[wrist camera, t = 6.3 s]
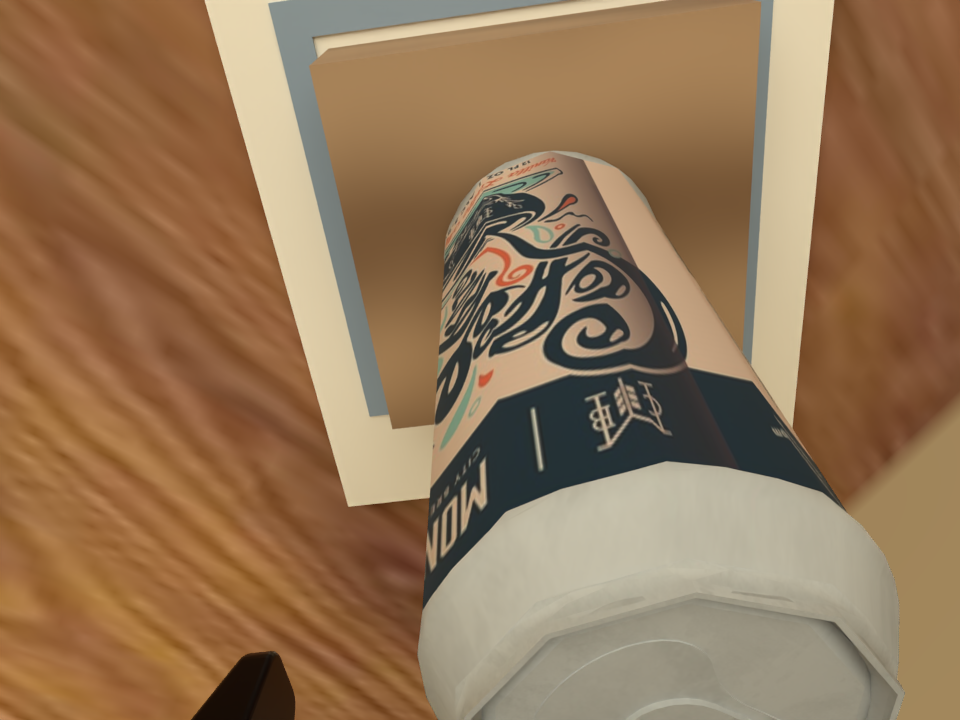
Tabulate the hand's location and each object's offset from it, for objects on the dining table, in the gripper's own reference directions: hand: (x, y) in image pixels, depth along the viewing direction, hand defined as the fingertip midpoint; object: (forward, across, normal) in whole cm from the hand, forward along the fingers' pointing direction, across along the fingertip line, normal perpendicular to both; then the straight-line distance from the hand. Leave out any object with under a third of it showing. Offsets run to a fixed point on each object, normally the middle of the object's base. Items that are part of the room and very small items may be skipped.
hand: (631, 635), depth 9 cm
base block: (+12, 0, -2) cm, 12 cm away
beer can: (+10, 0, -1) cm, 10 cm away
